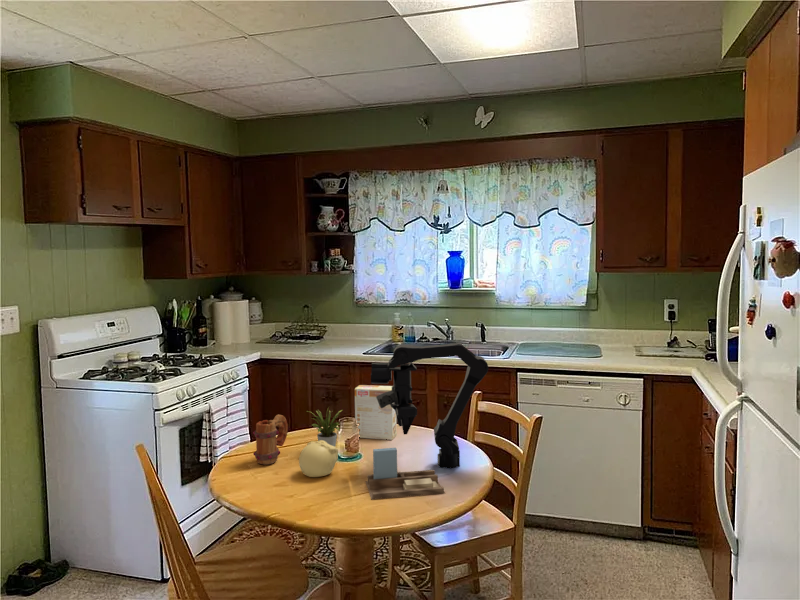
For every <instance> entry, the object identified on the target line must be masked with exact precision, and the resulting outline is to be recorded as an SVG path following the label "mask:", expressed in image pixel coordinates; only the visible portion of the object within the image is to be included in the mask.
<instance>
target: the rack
mask: <svg viewBox="0 0 800 600" xmlns="http://www.w3.org/2000/svg"><path fill="white" fill-rule="evenodd" d="M435 473H436V471H435V469H425V470H413V471H412V470H411V471H402V472H401V471H399V472H398V471H397V478H384V479H374V475H373V474H367V476H366V477H367V479H366V481H364V482H365V484H366V487H367V491H368V494H369V497H370V499H371V500H381V499H382V500H383V499H392V498H394V499H395V498H406V497H416V496H417V497H418V496H419V497H420V496H429V495H439V494H441V495H442V494H443V495H444V494H446V491H445V488H444V487H443V486H442V485H441V484H440V482H439V475H438V474H435ZM425 478H431V480H432V482H433V481H436V483H437V485H438V486H439V487H434V488H422V489H410V490H404V489H403V484H404V480H413V479H425Z"/></svg>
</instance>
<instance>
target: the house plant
mask: <svg viewBox="0 0 800 600" xmlns="http://www.w3.org/2000/svg"><path fill="white" fill-rule="evenodd" d="M342 411H344V409H341V410H338V411H337V413H335V415H334V416H333V417H332V419H331V416H332V414H331V413H332V411H331V409H330V406H328V408H327V410H326V416H325V419H324V418H323V414H322V412H321V411H320V410H319V409H316V414H317V415H318V416H317V415H314V413H313V412H312V411H308V410H307V413H311V414H312V415H314V417H315V418H314V417H313V418H310V419H313V420H315V421H316V423H317V424H316V423H312V424H311V427H312V426H313V427H315V428H316V429H317V434H316V435H317V436H316V437H317V441H320V440H324V441H326V442H327V443H328V444H330V445H332V446H335V447H336V445H337V437H338V434H337V432H335V431H336V430H337V431H340V430H339V429H340V427H339V425H340V423H339V422H340V421H337V422H335V420H336V419H337V418H338V417H339V416H340V413H341V412H342Z"/></svg>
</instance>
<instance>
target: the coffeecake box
mask: <svg viewBox="0 0 800 600" xmlns="http://www.w3.org/2000/svg"><path fill="white" fill-rule="evenodd" d="M392 387H393V385H375V384H374V385H372V384H370V385H367V384H359V385H357V386H356V387H355V388H354V420H355V419H356V420H357V423H358V424H359V426H358V429H359V435H360V438H359V439H371V440H373V439H374V440H375V439H376V440H386V439H387V440H386V441H389V440H390V441H393V440H394V439H395V438H396V437H397V433H398V432H397V427H398V426H397V417H396V412H395V410H394V409H393V408H392V407H391V405H390V404H389V405H387V406H385V407H384V408H380V406H379V403H378V401H377V398H376V397H377V396H378V395H380V394H383V393H385V392H388V391H391V390H392Z"/></svg>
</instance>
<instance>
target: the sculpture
mask: <svg viewBox="0 0 800 600" xmlns="http://www.w3.org/2000/svg"><path fill="white" fill-rule="evenodd" d="M338 454H339V448H338V447H336V445H335V446H332V445H330V444H328V443H327V442H326V441H324V440H320V441H318V440H317V441H310V442H307V443H306V445H305V446H304V448H302V450H301V452H300V454H299V458H298V465H299V468H300V471H301V473H302V474H304V475H305V476H306V477H310V478H320V477H323V476H327V475H330V474H331V473H332V471H333V470H334V469H335V465H336V463H337V462H338V459H339V458H338V457H339V455H338Z"/></svg>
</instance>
